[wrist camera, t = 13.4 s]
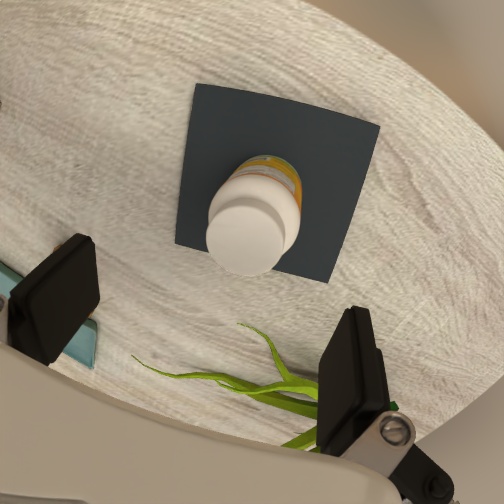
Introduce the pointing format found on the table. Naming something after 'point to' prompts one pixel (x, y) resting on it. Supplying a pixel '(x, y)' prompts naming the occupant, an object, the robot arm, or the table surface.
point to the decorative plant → (275, 395)
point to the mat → (287, 148)
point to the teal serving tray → (81, 343)
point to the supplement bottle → (255, 216)
